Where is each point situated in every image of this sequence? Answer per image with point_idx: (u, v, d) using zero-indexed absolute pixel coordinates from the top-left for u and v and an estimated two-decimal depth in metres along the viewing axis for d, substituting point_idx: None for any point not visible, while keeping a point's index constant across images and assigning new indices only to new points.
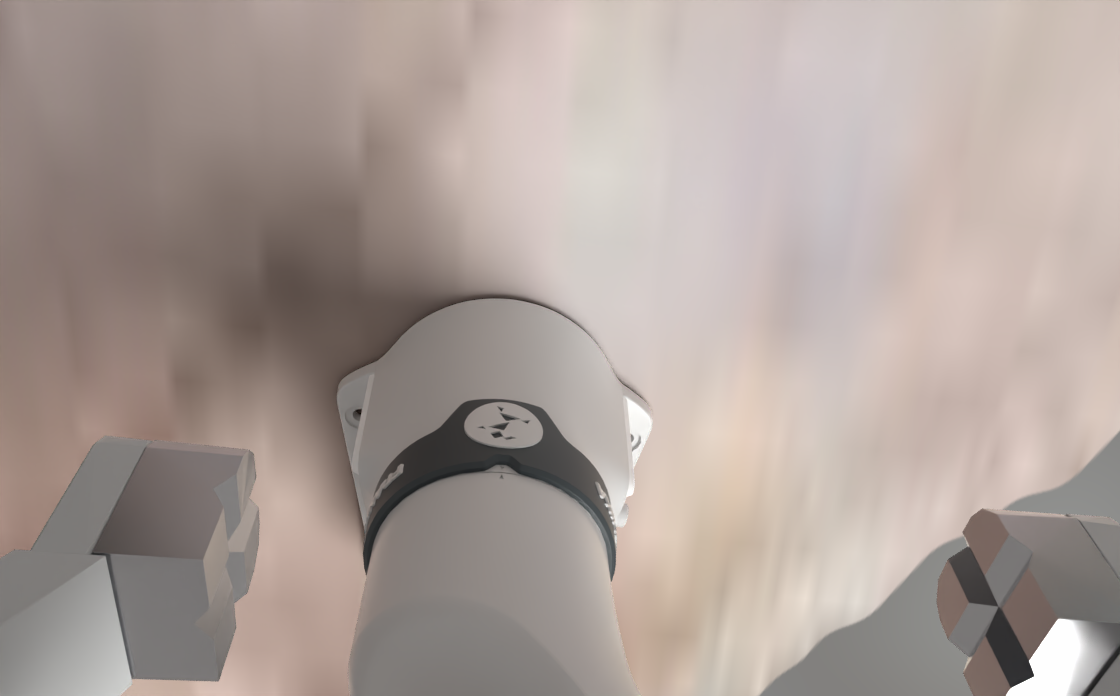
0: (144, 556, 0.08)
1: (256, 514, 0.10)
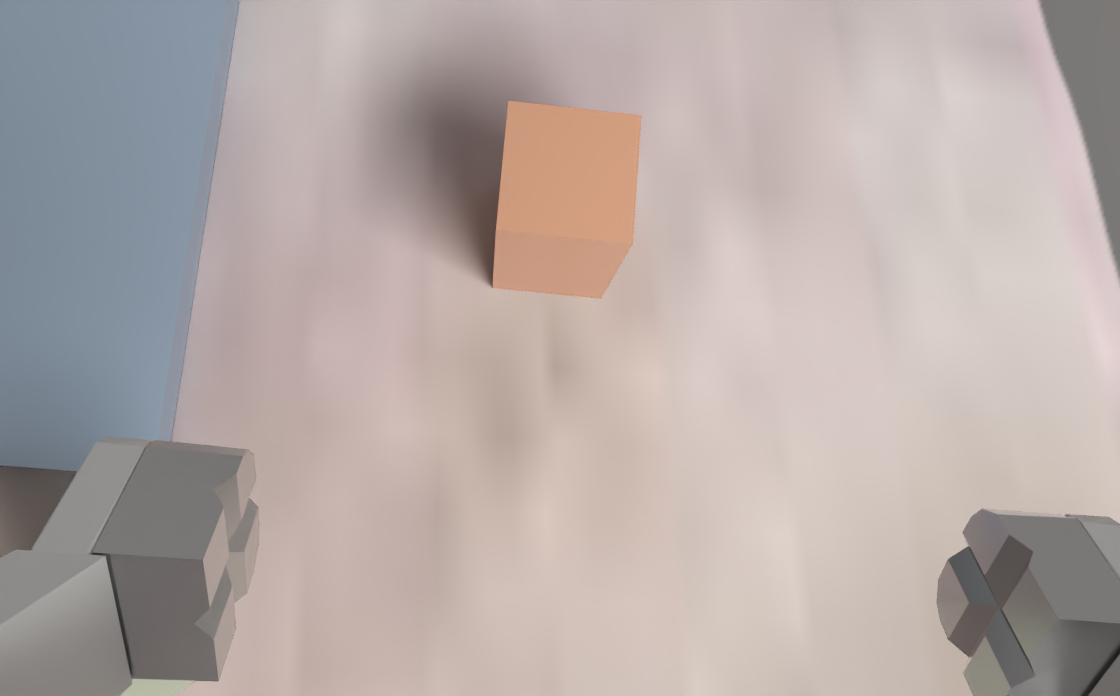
0: (144, 556, 0.08)
1: (256, 514, 0.10)
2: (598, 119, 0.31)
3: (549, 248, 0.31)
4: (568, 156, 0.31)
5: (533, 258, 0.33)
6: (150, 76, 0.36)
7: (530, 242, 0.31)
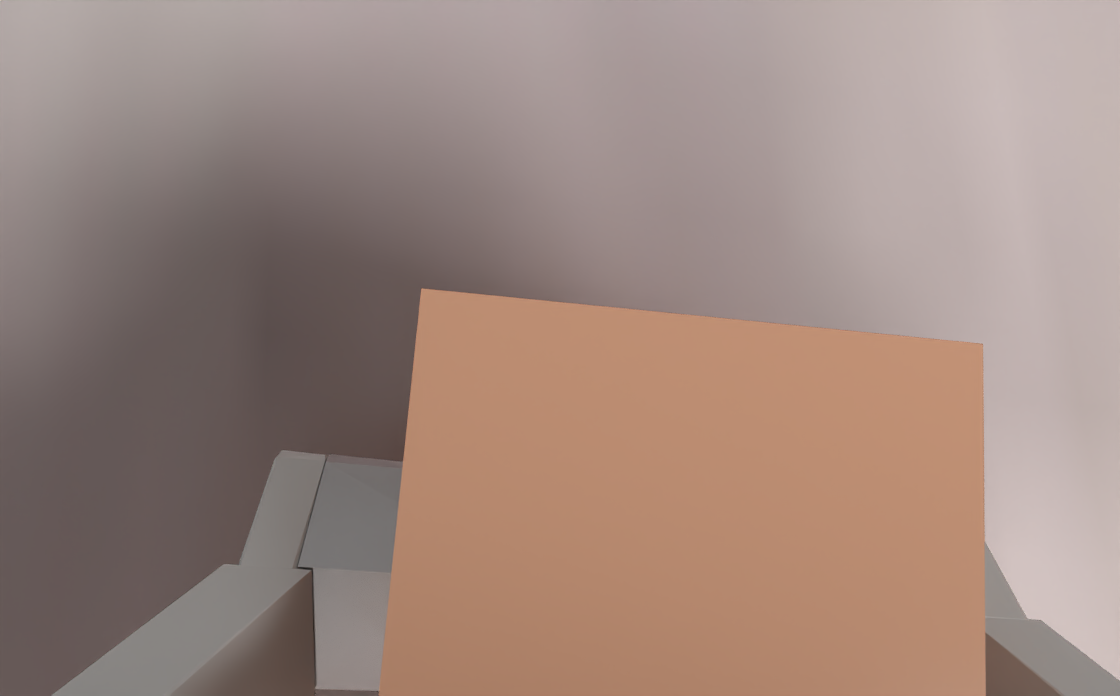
0: (346, 570, 0.08)
1: None
2: (808, 367, 0.07)
3: None
4: (688, 540, 0.07)
5: None
6: None
7: None
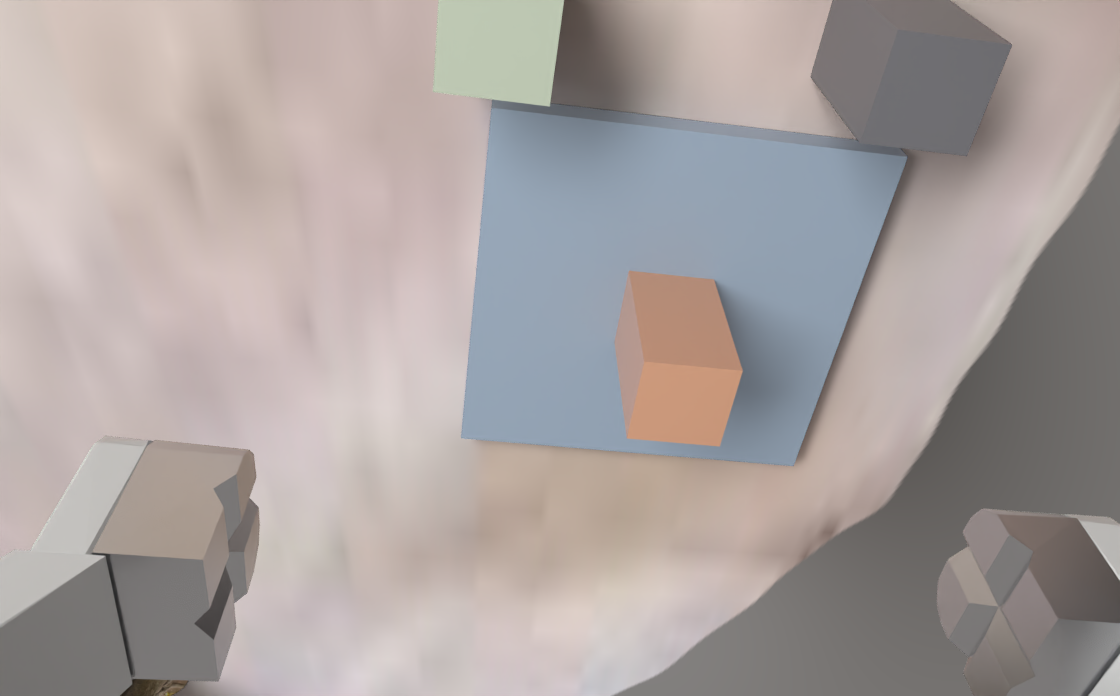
0: (144, 556, 0.08)
1: (256, 514, 0.10)
2: (657, 435, 0.43)
3: (697, 348, 0.42)
4: (683, 414, 0.43)
5: (702, 331, 0.44)
6: (510, 381, 0.51)
7: (713, 355, 0.42)
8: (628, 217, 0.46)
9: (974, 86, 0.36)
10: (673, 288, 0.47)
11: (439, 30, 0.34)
